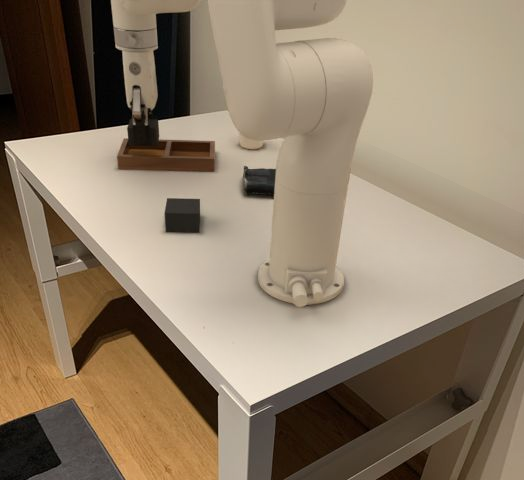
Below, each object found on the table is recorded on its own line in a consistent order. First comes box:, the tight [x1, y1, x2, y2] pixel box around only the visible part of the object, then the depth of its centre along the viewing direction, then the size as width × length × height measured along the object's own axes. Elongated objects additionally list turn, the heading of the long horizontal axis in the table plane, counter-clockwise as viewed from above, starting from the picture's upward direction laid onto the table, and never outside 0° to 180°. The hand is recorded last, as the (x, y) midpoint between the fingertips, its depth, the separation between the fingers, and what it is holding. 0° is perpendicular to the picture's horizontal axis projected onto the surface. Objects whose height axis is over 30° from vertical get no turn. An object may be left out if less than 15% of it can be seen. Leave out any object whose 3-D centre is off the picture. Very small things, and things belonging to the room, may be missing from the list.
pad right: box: [164, 197, 201, 234], centre depth 92 cm, size 6×6×4 cm
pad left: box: [126, 117, 160, 146], centre depth 110 cm, size 6×6×4 cm
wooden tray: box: [116, 137, 216, 172], centre depth 114 cm, size 10×19×3 cm, turn 93°
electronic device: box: [242, 165, 276, 196], centre depth 105 cm, size 9×6×15 cm
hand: (144, 138), depth 111 cm, fingers closed on pad left, 5 cm apart
